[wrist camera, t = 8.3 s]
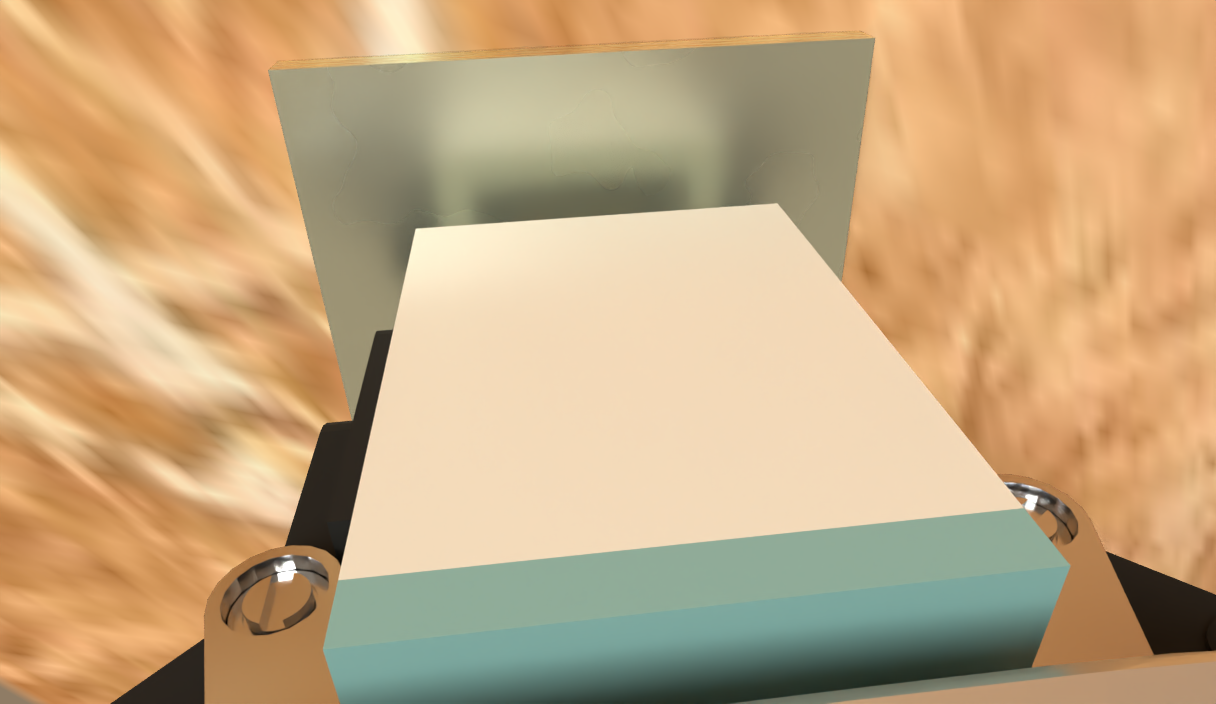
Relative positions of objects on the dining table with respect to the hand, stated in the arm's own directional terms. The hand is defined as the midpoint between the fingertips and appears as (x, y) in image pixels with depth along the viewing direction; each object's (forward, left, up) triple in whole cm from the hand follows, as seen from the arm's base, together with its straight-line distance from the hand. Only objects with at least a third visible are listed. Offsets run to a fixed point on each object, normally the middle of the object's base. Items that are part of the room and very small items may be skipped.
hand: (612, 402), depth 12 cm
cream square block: (0, 0, -3) cm, 3 cm away
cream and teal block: (0, 0, -1) cm, 1 cm away
